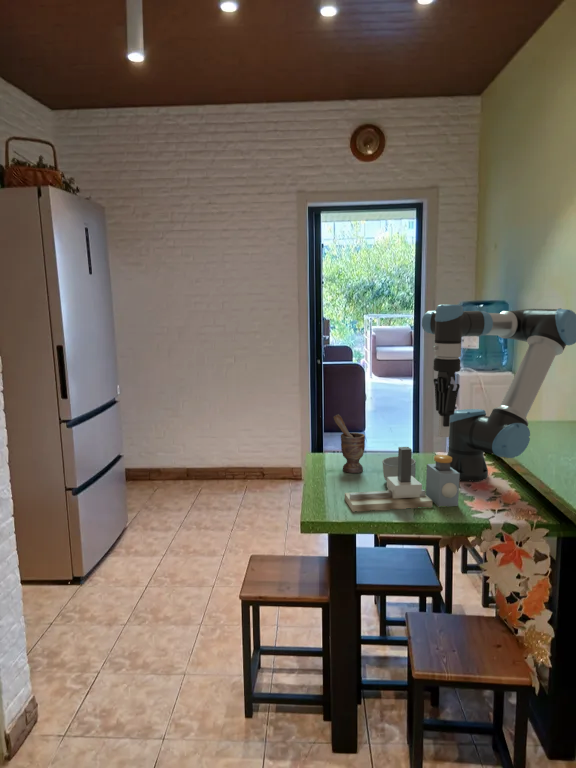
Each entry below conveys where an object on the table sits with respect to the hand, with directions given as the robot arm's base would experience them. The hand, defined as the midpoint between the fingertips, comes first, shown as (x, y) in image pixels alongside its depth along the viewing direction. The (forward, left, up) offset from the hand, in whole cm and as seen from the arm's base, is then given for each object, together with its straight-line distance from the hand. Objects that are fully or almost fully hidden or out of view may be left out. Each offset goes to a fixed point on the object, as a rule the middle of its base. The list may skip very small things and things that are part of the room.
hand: (443, 436), depth 158 cm
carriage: (+12, 0, -18) cm, 21 cm away
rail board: (+17, 0, -20) cm, 26 cm away
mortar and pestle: (+21, -33, -20) cm, 44 cm away
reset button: (0, 0, -14) cm, 14 cm away
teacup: (+7, -18, -20) cm, 28 cm away
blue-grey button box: (0, 0, -20) cm, 20 cm away
